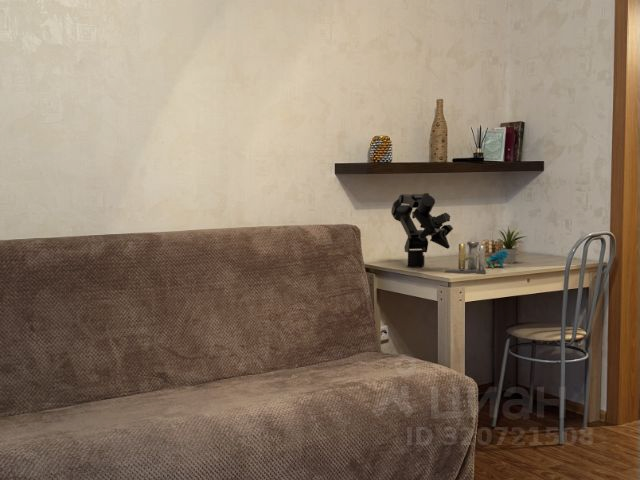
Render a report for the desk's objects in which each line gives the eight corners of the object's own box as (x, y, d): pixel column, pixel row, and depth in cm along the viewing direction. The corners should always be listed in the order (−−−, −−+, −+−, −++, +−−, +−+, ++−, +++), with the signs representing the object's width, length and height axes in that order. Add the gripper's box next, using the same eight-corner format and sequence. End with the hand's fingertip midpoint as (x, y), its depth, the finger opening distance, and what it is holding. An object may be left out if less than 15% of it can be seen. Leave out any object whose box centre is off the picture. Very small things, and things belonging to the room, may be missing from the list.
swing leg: (467, 265, 325) (468, 241, 324) (473, 265, 324) (474, 241, 323) (457, 268, 314) (458, 244, 313) (463, 269, 313) (464, 244, 312)
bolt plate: (444, 272, 314) (444, 269, 314) (445, 270, 320) (445, 268, 320) (484, 274, 310) (484, 271, 310) (485, 272, 316) (485, 269, 316)
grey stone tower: (479, 273, 311) (479, 245, 310) (465, 268, 329) (465, 241, 328) (490, 273, 312) (491, 245, 311) (476, 267, 329) (476, 241, 328)
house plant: (510, 265, 338) (511, 227, 337) (485, 262, 349) (486, 226, 348) (530, 263, 348) (531, 226, 346) (505, 260, 358) (506, 224, 357)
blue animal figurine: (501, 261, 339) (509, 247, 331) (507, 272, 336) (517, 257, 328) (480, 266, 334) (488, 251, 327) (486, 277, 331) (495, 262, 324)
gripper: (426, 207, 312) (450, 236, 307) (449, 205, 327) (472, 233, 321) (409, 225, 318) (432, 254, 312) (432, 223, 332) (454, 251, 327)
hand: (448, 247), depth 318 cm, fingers closed
